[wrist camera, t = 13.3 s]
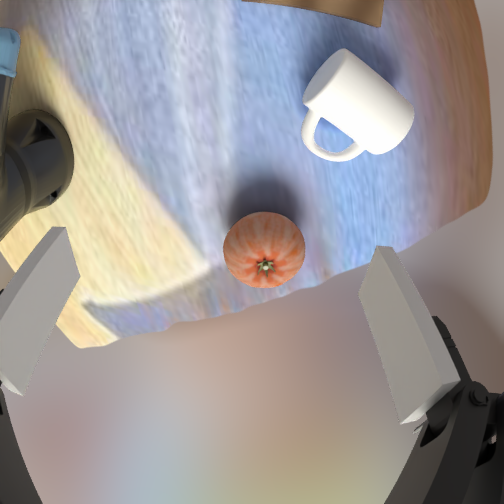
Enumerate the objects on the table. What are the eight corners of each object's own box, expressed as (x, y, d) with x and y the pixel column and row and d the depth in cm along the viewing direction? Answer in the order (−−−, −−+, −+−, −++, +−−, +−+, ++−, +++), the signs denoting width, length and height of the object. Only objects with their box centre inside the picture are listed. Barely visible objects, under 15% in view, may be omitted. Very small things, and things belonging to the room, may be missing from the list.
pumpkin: (315, 239, 43) (326, 275, 37) (256, 275, 47) (257, 313, 41) (271, 185, 38) (276, 215, 32) (209, 229, 42) (202, 265, 36)
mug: (333, 48, 28) (355, 46, 21) (394, 97, 31) (426, 110, 24) (278, 125, 34) (285, 142, 27) (341, 167, 37) (361, 193, 30)
